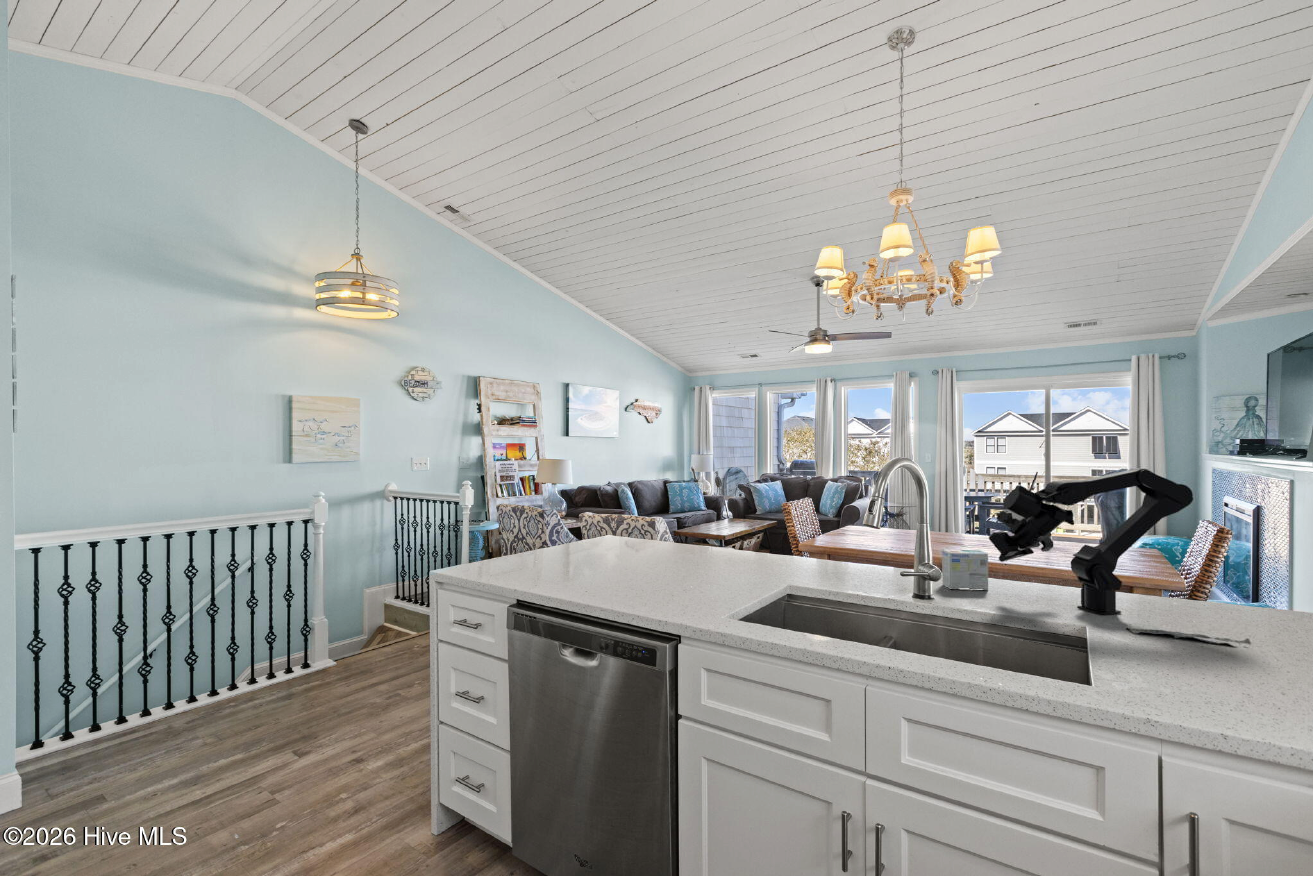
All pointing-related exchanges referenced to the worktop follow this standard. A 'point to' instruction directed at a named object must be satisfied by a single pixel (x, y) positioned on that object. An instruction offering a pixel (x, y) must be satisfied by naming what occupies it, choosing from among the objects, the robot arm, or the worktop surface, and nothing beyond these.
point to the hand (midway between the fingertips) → (1000, 560)
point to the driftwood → (1178, 634)
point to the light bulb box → (965, 569)
